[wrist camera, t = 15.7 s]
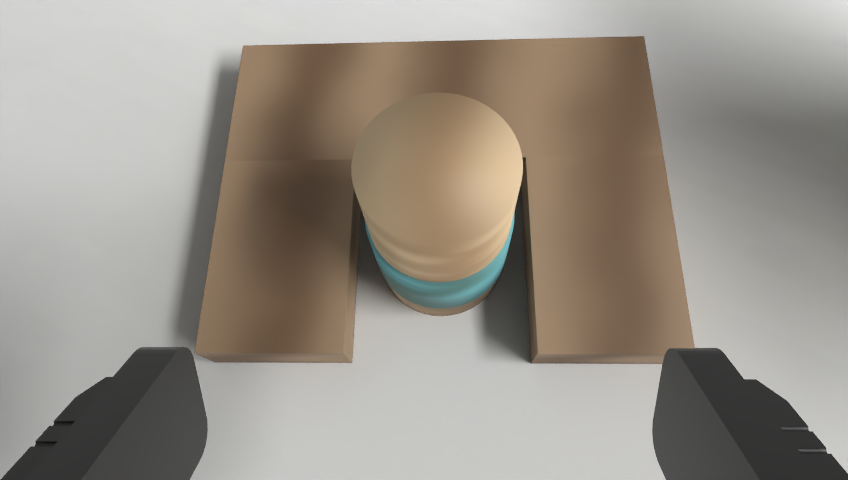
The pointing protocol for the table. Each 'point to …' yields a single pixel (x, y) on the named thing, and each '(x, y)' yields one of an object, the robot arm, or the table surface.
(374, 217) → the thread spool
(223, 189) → the notched board
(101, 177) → the table surface
